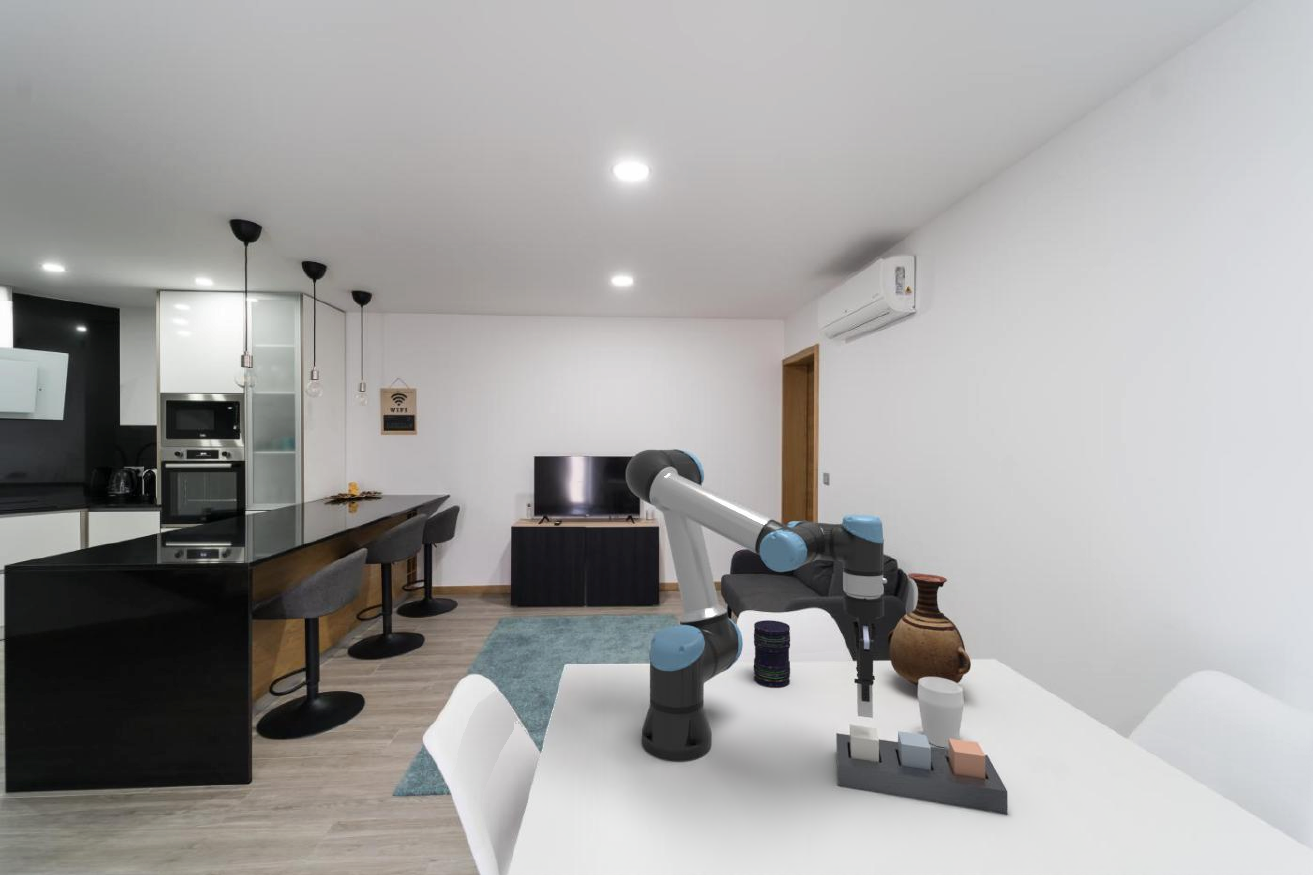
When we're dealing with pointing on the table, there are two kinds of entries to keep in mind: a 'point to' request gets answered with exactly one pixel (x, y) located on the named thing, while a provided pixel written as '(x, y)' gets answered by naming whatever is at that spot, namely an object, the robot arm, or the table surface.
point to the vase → (927, 638)
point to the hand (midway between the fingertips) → (865, 715)
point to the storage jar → (772, 654)
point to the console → (920, 778)
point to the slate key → (914, 750)
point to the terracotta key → (966, 758)
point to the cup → (940, 709)
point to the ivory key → (864, 743)
